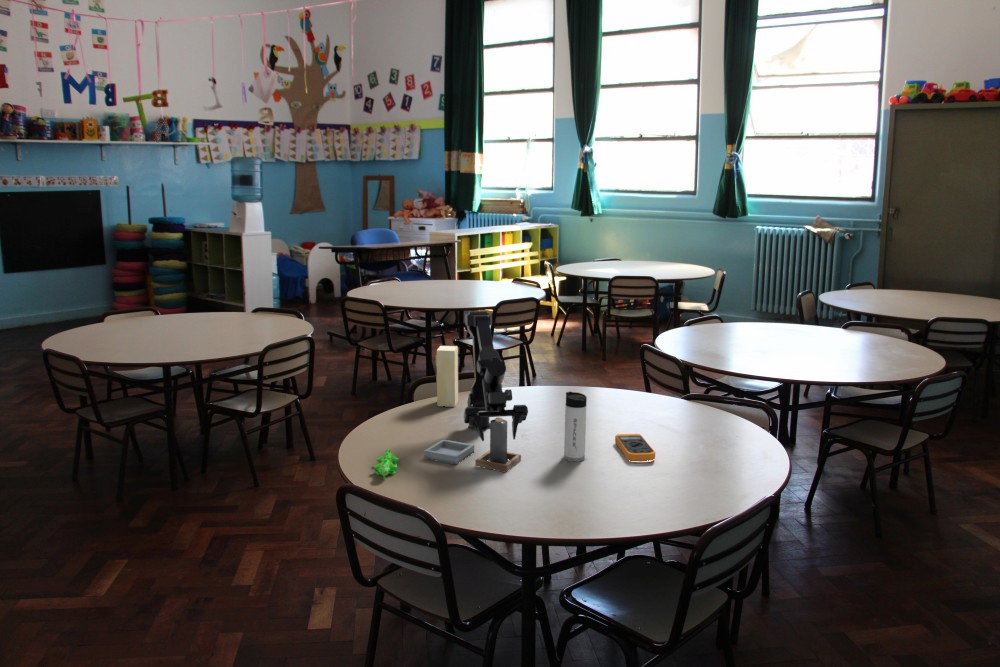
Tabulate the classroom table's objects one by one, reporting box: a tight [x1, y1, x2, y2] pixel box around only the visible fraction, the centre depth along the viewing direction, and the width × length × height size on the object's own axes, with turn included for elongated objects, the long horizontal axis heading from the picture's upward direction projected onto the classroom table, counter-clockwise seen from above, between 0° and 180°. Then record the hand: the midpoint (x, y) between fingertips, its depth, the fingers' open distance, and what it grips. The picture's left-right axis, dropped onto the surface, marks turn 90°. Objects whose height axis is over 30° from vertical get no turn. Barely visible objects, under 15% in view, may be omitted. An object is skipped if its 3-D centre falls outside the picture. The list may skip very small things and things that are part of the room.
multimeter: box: [614, 433, 656, 461], centre depth 242 cm, size 9×18×3 cm, turn 6°
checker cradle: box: [474, 449, 522, 473], centre depth 232 cm, size 10×10×2 cm
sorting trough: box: [423, 439, 475, 465], centre depth 238 cm, size 11×11×2 cm
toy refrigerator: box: [435, 345, 459, 408], centre depth 287 cm, size 8×7×21 cm
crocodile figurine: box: [373, 447, 400, 480], centre depth 227 cm, size 7×18×4 cm, turn 2°
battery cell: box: [489, 417, 508, 464], centre depth 230 cm, size 5×5×14 cm
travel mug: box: [563, 391, 588, 462], centre depth 235 cm, size 6×7×20 cm
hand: (498, 439), depth 230 cm, fingers open, 9 cm apart
